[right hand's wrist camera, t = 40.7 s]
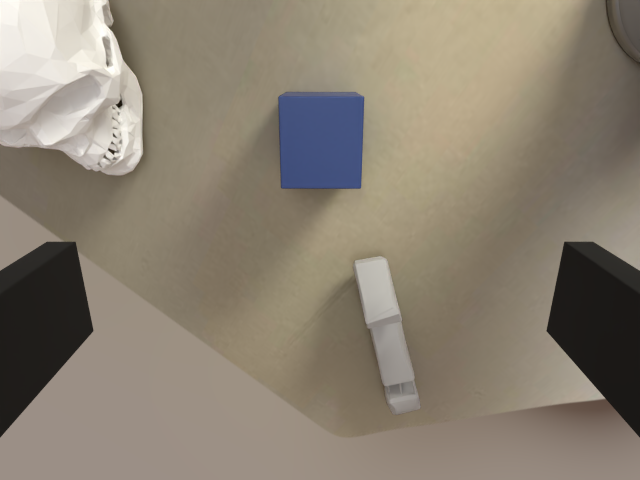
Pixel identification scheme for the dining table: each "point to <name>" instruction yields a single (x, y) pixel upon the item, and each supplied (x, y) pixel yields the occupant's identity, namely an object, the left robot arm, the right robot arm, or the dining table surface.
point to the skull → (68, 84)
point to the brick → (321, 139)
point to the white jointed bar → (387, 333)
